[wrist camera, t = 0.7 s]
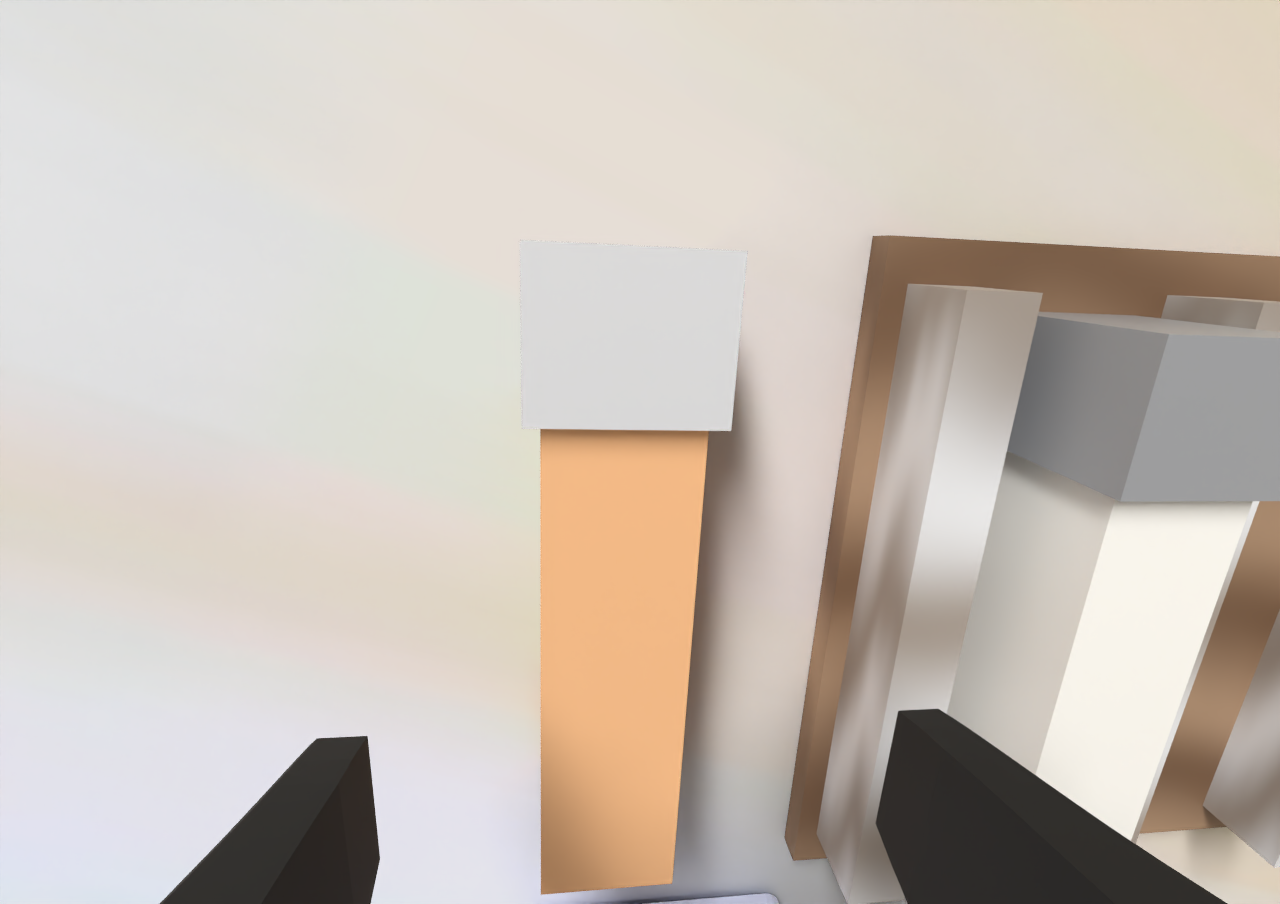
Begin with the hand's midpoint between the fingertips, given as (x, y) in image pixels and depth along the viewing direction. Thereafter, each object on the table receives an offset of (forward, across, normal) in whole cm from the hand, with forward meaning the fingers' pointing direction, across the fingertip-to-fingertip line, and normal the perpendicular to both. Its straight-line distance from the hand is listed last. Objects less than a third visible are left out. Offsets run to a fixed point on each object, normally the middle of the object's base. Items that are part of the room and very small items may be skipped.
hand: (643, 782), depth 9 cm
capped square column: (+8, 0, 0) cm, 8 cm away
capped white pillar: (+7, -11, +1) cm, 13 cm away
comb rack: (+8, -14, +2) cm, 16 cm away
